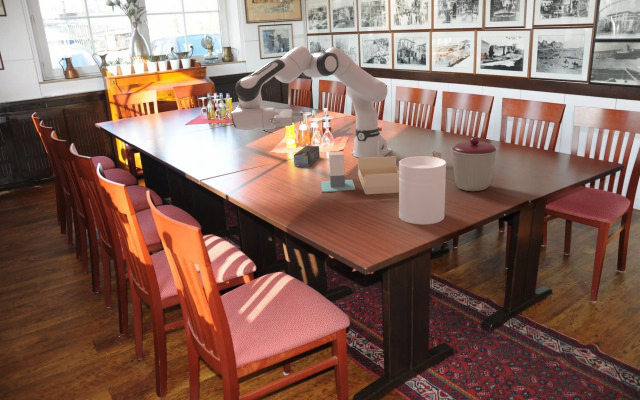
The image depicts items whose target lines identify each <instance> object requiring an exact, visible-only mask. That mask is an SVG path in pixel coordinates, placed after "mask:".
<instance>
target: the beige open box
mask: <svg viewBox="0 0 640 400" xmlns="http://www.w3.org/2000/svg"><path fill="white" fill-rule="evenodd" d="M357 173H358V174H357V175H358V178H359V181H360V184H361V187H362V188H363V192H364V194H365V195H377V194H378V195H380V194H399V168H397V156H396V155H394V156H393V155H392V156H384V157H371V158H358V157H357Z"/></svg>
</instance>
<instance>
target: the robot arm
mask: <svg viewBox="0 0 640 400" xmlns="http://www.w3.org/2000/svg"><path fill="white" fill-rule="evenodd" d="M332 75H333V76H334V77H335V78H336V79H338V80H339V81H340V82H341V83H342V84H343V85H344V86H345V90H346V94H347V96H348V97H349V98H350V100H351V102H352V105H353V108H354V109H353V110H354V112H355V126H356V127H355V131H354V132H355V137H354V140H353V151H351V154H352V155H353V157H355V158H357V159H358V158H371V157H386V155H388V154H389V153H391V152H392V148H390V147H388V143H387V142H388V141H387V140H386V139H385V138H384V137H383V136H382V135H381V132H382V131H383V127H382V126H381V127H380V126H379V121H378V119H379V118H378V117H379V116H378V115H379V113H378V111H377V109H376V108H375V107H374V105H373V103H379V102H383V101H384V100H386V98H387V96H388V91H389V90H388V86H387V85H386V83H385V82H383V81H381V80H379V79H377V78H376V77H375V76H373V75H372V74H370V73H369V72H367V71H365V70H364V69H363V68H361V67H360V66H359V65H358V64H357V63H356V62H355V61H354V60H353V59H352V58H351V57H350V56H349V55H348V54H347V53H345V52H344V51H343V50H341V49H340V48H338V47H336V46H331V47H329V48H327V49H326V50H325V51H323V52H320V51H319V52H314V53H311V52H310V50H309V49H308V48H307V47H305V46H303V45H298V46H295V47H293V48H291V49H290V50H288V51H287V52H286V53H285V54H284V55H282V56H281V57H280V58H276V59H275V58H274V59H273V60H271V61H269V62H267V63H266V64H264V65H263V66H261V67H260V68H258V69H257V70H256V71H253V72H252V73H250V74H249V75H246V76H244V77H242V78H240V79H239V80H238V81H237V82H236V84H235V88H234V89H235V93H236V95H237V96H236V97H238V98H237V99H238V104H237V105H236V107H235V108H234V110H232V111H231V112H230V118H231V121H232V125H233V127H234V128H235V129H236V130H240V131H252V130H253V131H255V130H257V129H259V130H260V129H261V130H273V129H274V130H275V129H276V127H291V126H292V125H293V123H299V122H303V121H304V119H305V118H304V112H303V111H302V112H299V111H293V109H292V108H276V107H274V106H273V107H263V106H264V105H263V104H264V103H263V98H262V93H261V92H262V91H261V90H262V87H263V85H264V84H266V83H268V82H269V81H270V80H271V79H273V78H275V79H276V80H278V81H279V82H280V83H284V84H290V83H292V82H293V81H295V80H296V79H298V78H299V77H300V76H303V77H304V78H305V77H306V78H322V77H329V76H332Z"/></svg>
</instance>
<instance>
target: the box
mask: <svg viewBox="0 0 640 400" xmlns="http://www.w3.org/2000/svg"><path fill="white" fill-rule="evenodd" d="M328 161H329V162H328V163H329V181H330V185H331V187H345V180H346V175H345V174H346V173H345V154H344V151H331V152H328Z"/></svg>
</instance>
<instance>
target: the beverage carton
mask: <svg viewBox="0 0 640 400" xmlns="http://www.w3.org/2000/svg"><path fill="white" fill-rule="evenodd" d="M320 157H321V155H320V146H319V145H305V146H304V147H303V148H302V149H300V150H299V151H298V152H296V153H295V154H293V164H294V166H295V165H299V166H298V167H304V166H309V167H310V166H311V165H313V163H314V162H316V161H317V160H318V159H319V158H320Z"/></svg>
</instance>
